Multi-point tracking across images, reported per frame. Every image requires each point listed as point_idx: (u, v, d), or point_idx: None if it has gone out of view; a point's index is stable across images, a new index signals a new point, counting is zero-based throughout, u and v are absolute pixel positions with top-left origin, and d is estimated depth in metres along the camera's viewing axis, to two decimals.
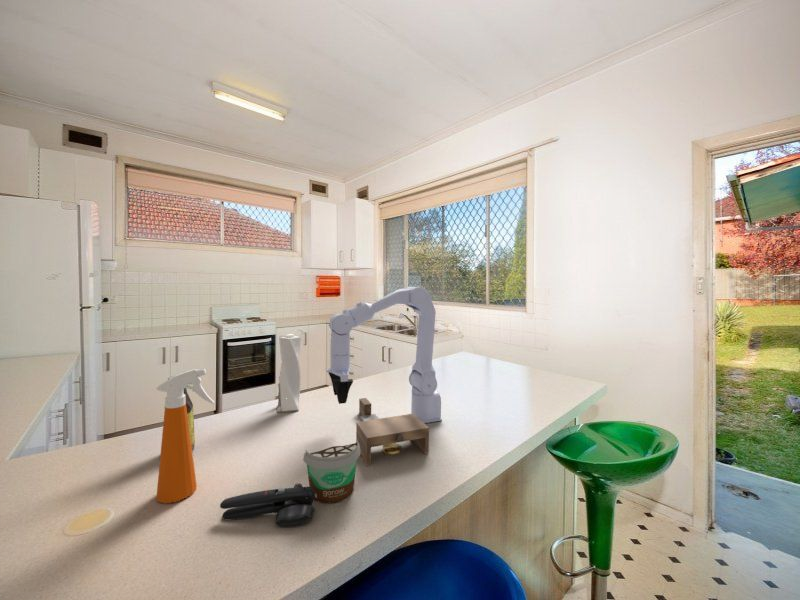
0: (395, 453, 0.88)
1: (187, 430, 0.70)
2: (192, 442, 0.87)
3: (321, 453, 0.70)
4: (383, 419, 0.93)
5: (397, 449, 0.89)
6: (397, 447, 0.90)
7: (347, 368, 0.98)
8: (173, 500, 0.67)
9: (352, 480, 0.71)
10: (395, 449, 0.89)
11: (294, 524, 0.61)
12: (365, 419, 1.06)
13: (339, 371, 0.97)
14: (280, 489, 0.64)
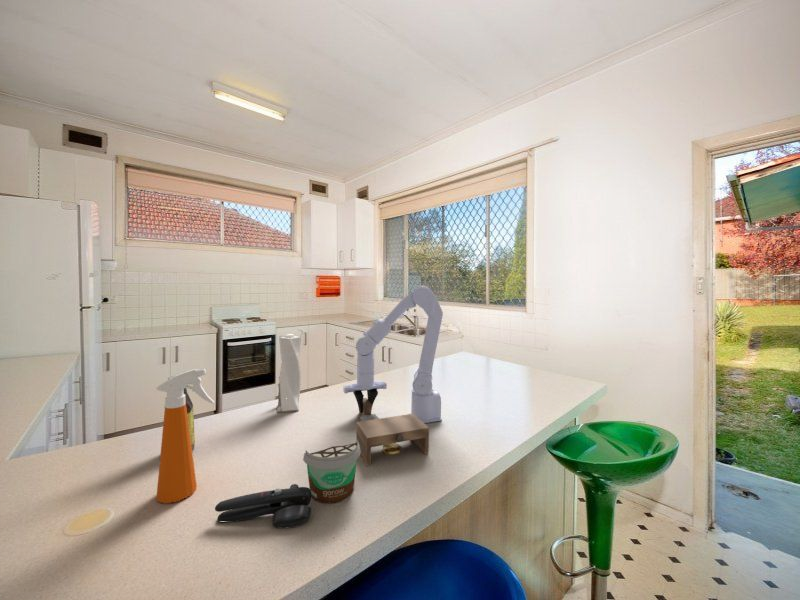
0: (395, 453, 0.88)
1: (187, 430, 0.70)
2: (192, 442, 0.87)
3: (321, 453, 0.70)
4: (383, 419, 0.93)
5: (397, 449, 0.89)
6: (397, 447, 0.90)
7: (360, 385, 1.10)
8: (173, 500, 0.67)
9: (352, 480, 0.71)
10: (395, 449, 0.89)
11: (291, 525, 0.61)
12: (365, 419, 1.06)
13: (356, 385, 1.12)
14: (276, 490, 0.63)
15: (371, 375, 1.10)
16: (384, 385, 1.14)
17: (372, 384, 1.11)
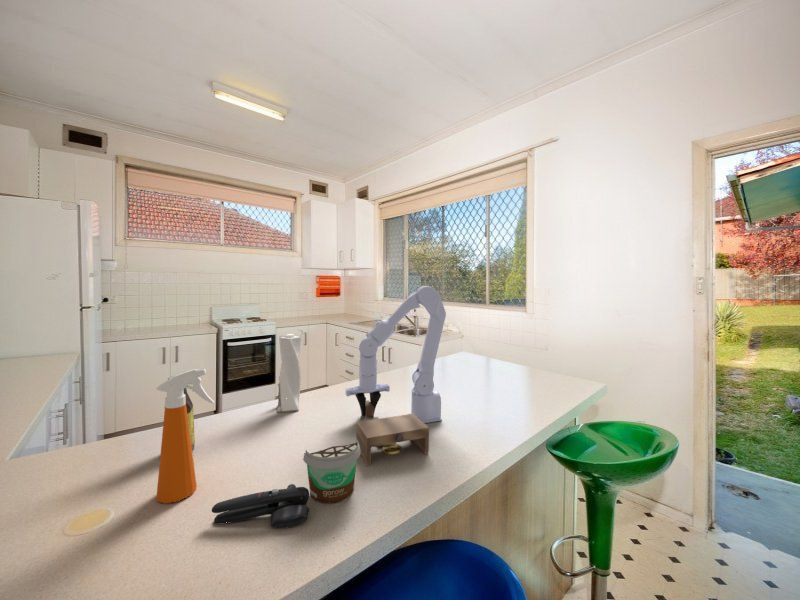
0: (395, 453, 0.88)
1: (187, 430, 0.70)
2: (192, 442, 0.87)
3: (321, 453, 0.70)
4: (383, 419, 0.93)
5: (397, 449, 0.89)
6: (397, 447, 0.90)
7: (363, 388, 1.07)
8: (173, 500, 0.67)
9: (352, 480, 0.71)
10: (395, 449, 0.89)
11: (290, 525, 0.61)
12: None
13: (358, 387, 1.09)
14: (274, 490, 0.63)
15: (374, 377, 1.08)
16: (387, 388, 1.11)
17: (375, 387, 1.08)
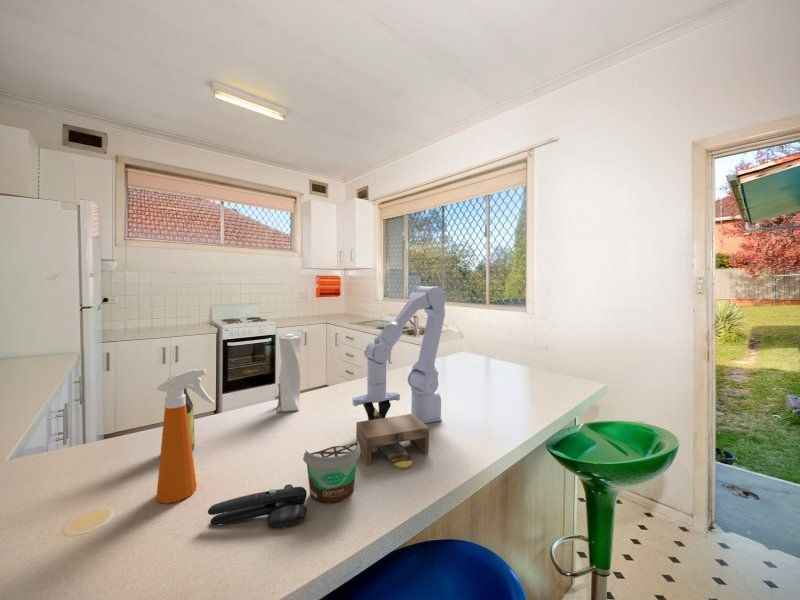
0: (406, 467, 0.81)
1: (187, 430, 0.70)
2: (192, 442, 0.87)
3: (321, 453, 0.70)
4: (383, 419, 0.93)
5: (408, 462, 0.82)
6: (408, 459, 0.83)
7: (371, 397, 0.99)
8: (173, 500, 0.67)
9: (352, 480, 0.71)
10: (406, 462, 0.82)
11: (287, 524, 0.61)
12: None
13: (366, 396, 1.01)
14: (271, 491, 0.63)
15: (383, 385, 0.99)
16: (397, 396, 1.03)
17: (384, 395, 1.00)
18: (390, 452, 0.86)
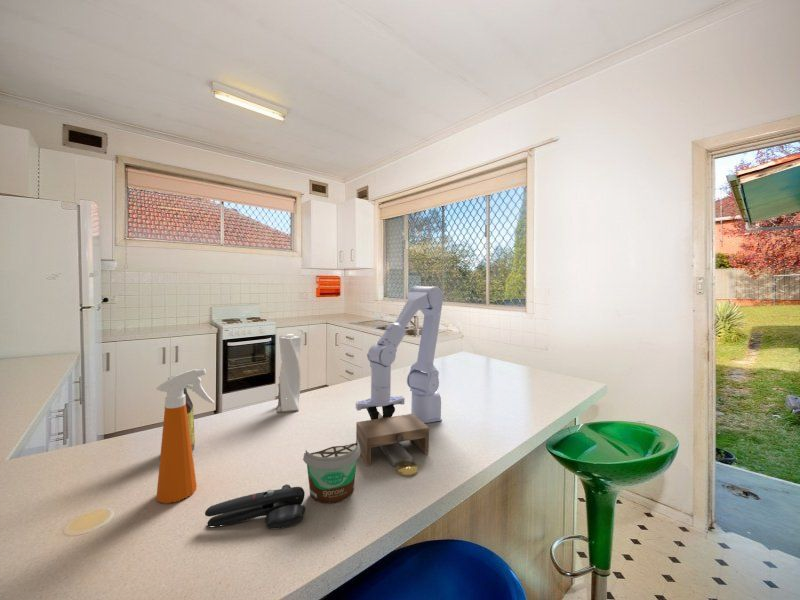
0: (410, 474, 0.78)
1: (187, 430, 0.70)
2: (192, 442, 0.87)
3: (321, 453, 0.70)
4: (383, 419, 0.93)
5: (413, 469, 0.79)
6: (413, 466, 0.80)
7: (375, 401, 0.96)
8: (173, 500, 0.67)
9: (352, 480, 0.71)
10: (411, 469, 0.79)
11: (286, 525, 0.61)
12: None
13: (370, 400, 0.98)
14: (269, 491, 0.63)
15: (387, 389, 0.96)
16: (402, 400, 1.00)
17: (388, 399, 0.97)
18: (395, 458, 0.83)
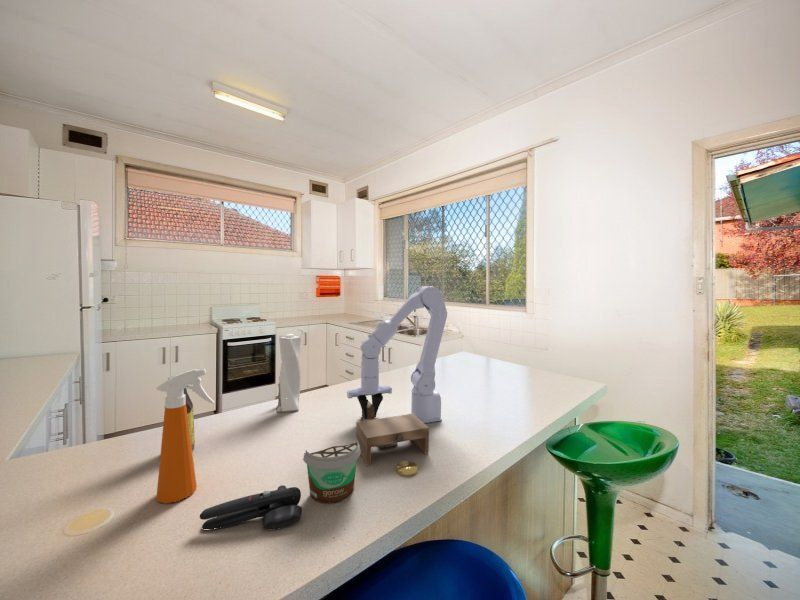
0: (411, 474, 0.78)
1: (187, 430, 0.70)
2: (192, 442, 0.87)
3: (321, 453, 0.70)
4: (383, 419, 0.93)
5: (413, 469, 0.79)
6: (413, 466, 0.80)
7: (365, 390, 1.05)
8: (173, 500, 0.67)
9: (352, 480, 0.71)
10: (411, 469, 0.79)
11: (283, 525, 0.61)
12: None
13: (360, 389, 1.07)
14: (265, 492, 0.63)
15: (376, 379, 1.06)
16: (389, 389, 1.09)
17: (377, 389, 1.06)
18: None
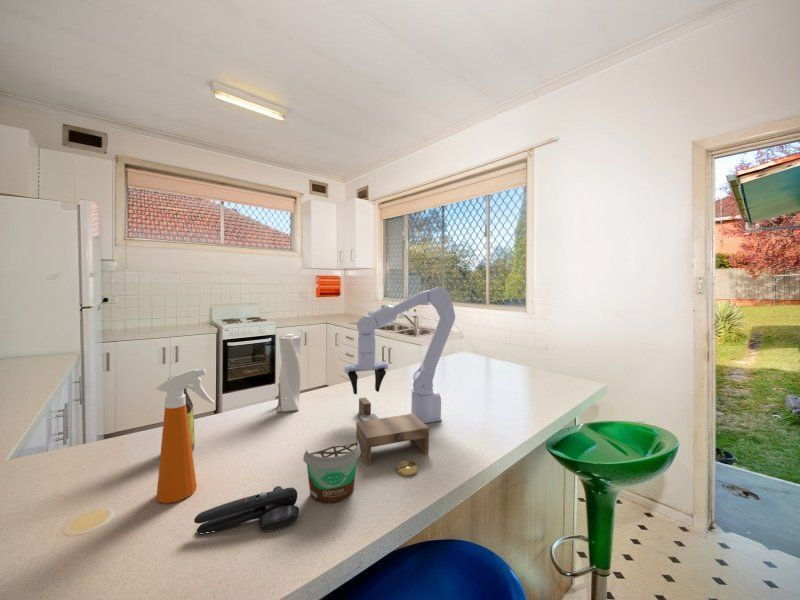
0: (411, 473, 0.78)
1: (187, 430, 0.70)
2: (192, 442, 0.87)
3: (321, 453, 0.70)
4: (383, 419, 0.93)
5: (413, 468, 0.79)
6: (413, 465, 0.81)
7: (361, 365, 1.09)
8: (173, 500, 0.67)
9: (352, 480, 0.71)
10: (411, 469, 0.79)
11: (281, 526, 0.60)
12: (365, 418, 1.07)
13: (357, 365, 1.11)
14: (262, 494, 0.62)
15: (372, 355, 1.09)
16: (385, 365, 1.13)
17: (373, 364, 1.10)
18: None
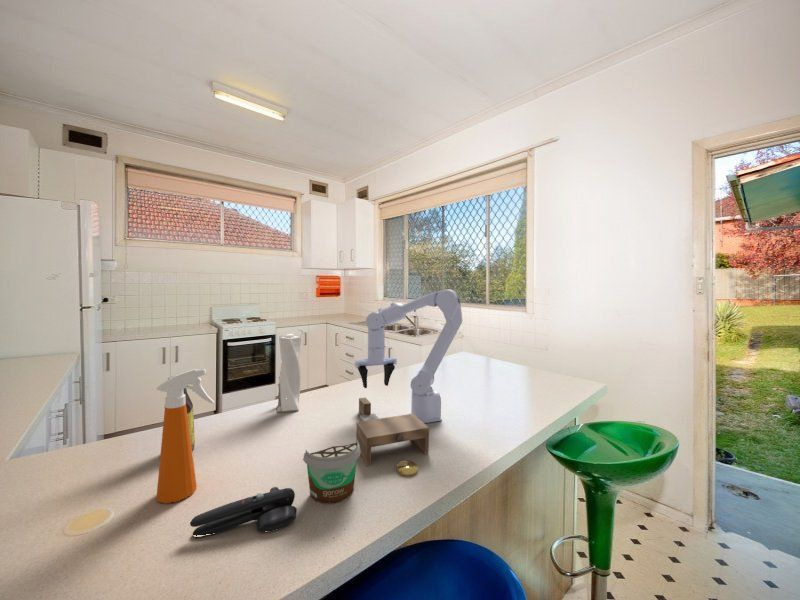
0: (413, 473, 0.78)
1: (187, 430, 0.70)
2: (192, 442, 0.87)
3: (321, 453, 0.70)
4: (383, 419, 0.93)
5: (414, 468, 0.80)
6: (413, 465, 0.81)
7: (371, 360, 1.12)
8: (173, 500, 0.67)
9: (352, 480, 0.71)
10: (412, 468, 0.79)
11: (279, 527, 0.60)
12: (365, 418, 1.07)
13: (367, 360, 1.14)
14: (259, 495, 0.62)
15: (382, 350, 1.12)
16: (394, 360, 1.16)
17: (383, 359, 1.13)
18: None
